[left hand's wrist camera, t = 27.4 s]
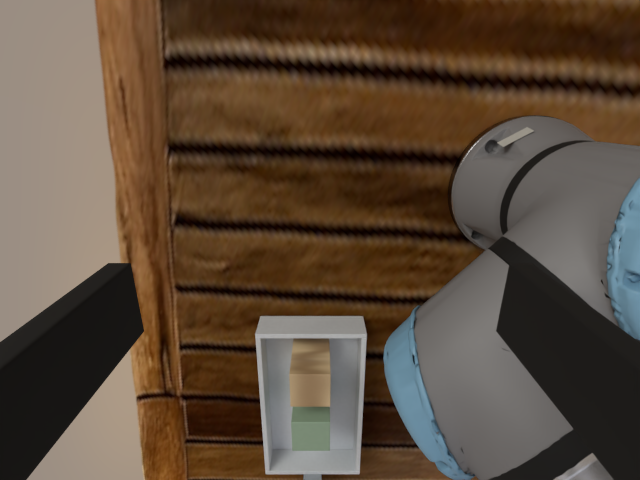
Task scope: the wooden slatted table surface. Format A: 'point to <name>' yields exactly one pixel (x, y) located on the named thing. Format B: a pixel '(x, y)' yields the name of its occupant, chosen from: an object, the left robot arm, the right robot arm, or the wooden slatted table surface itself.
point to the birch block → (310, 373)
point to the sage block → (310, 428)
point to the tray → (344, 397)
